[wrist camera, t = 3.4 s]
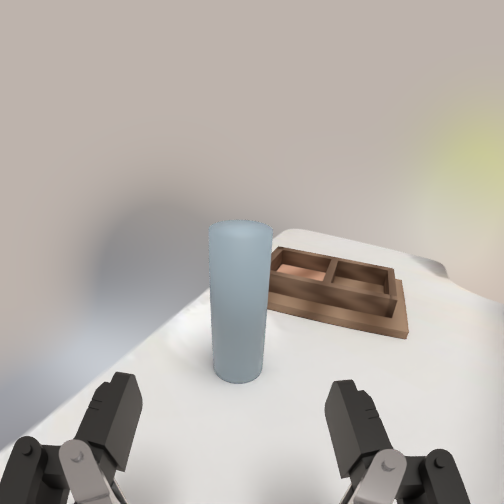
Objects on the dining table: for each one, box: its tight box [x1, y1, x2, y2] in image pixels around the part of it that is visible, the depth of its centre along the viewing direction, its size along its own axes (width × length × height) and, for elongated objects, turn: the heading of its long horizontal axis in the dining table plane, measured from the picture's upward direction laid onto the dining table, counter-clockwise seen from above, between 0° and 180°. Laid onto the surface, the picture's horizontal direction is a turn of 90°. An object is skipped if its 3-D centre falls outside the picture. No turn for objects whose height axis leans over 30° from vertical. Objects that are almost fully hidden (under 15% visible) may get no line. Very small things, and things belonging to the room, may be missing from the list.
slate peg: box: [209, 220, 273, 384], centre depth 22 cm, size 4×4×13 cm
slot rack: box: [267, 246, 409, 339], centre depth 37 cm, size 22×14×4 cm, turn 67°
